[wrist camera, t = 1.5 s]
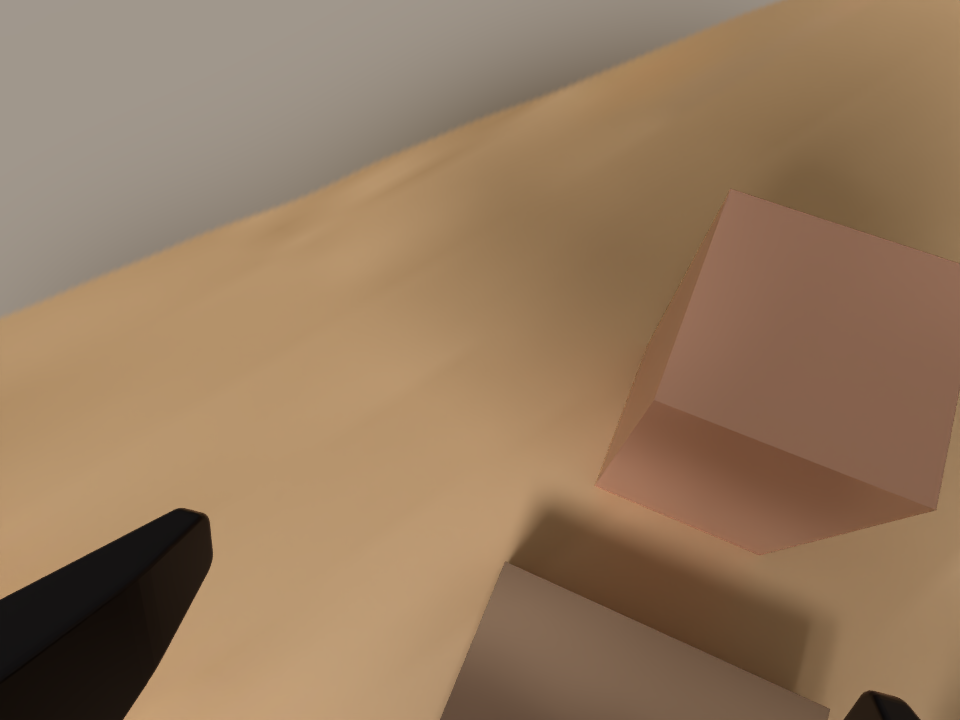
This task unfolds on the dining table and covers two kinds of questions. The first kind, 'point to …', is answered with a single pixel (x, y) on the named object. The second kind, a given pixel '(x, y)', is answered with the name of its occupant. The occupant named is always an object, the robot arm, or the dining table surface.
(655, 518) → the dining table surface
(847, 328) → the reddish brown block
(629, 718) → the walnut block
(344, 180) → the dining table surface
